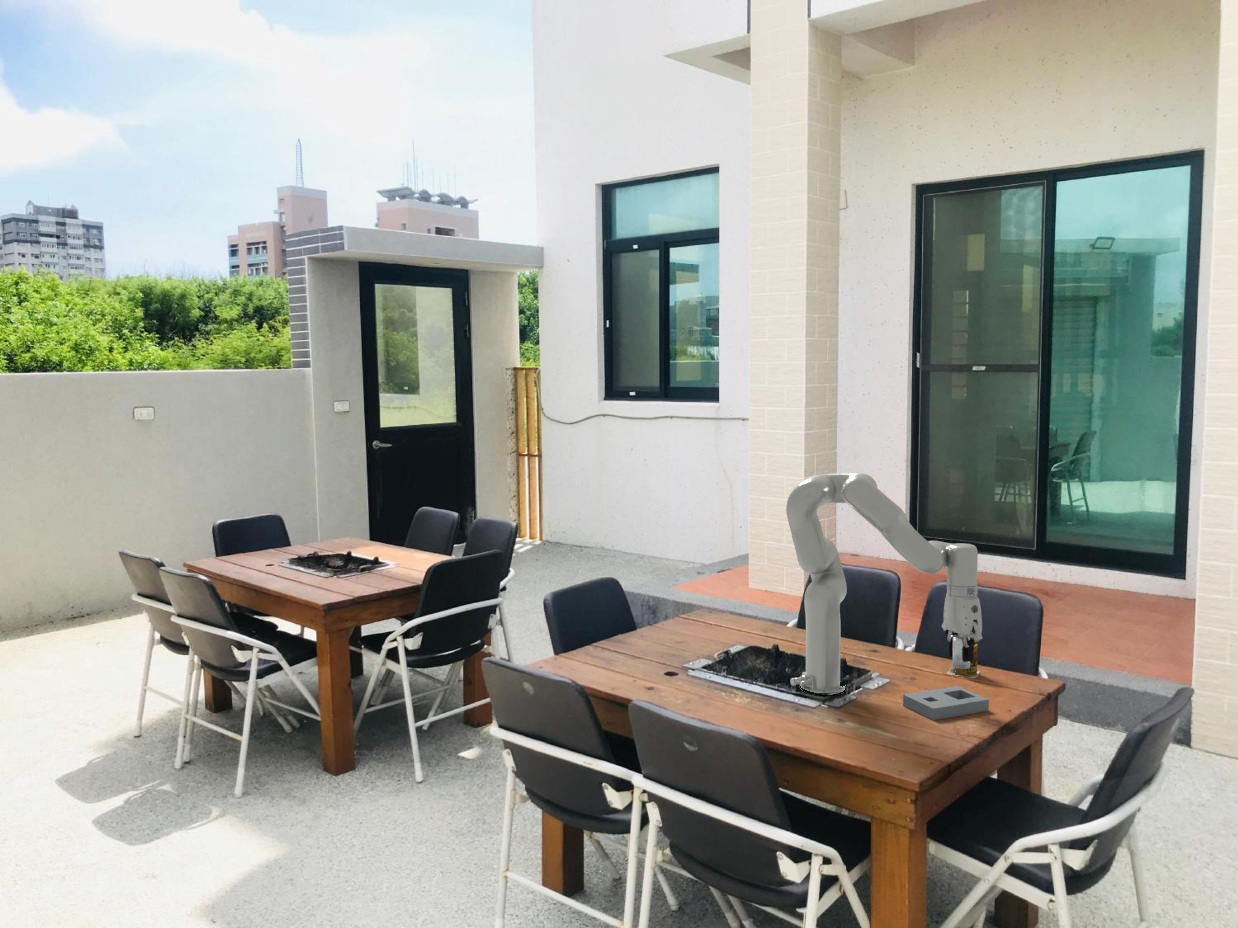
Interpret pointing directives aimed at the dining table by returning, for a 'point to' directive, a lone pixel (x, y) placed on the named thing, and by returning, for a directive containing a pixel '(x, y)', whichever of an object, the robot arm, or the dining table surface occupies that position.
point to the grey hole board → (945, 702)
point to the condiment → (970, 671)
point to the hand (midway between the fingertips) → (961, 657)
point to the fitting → (959, 653)
